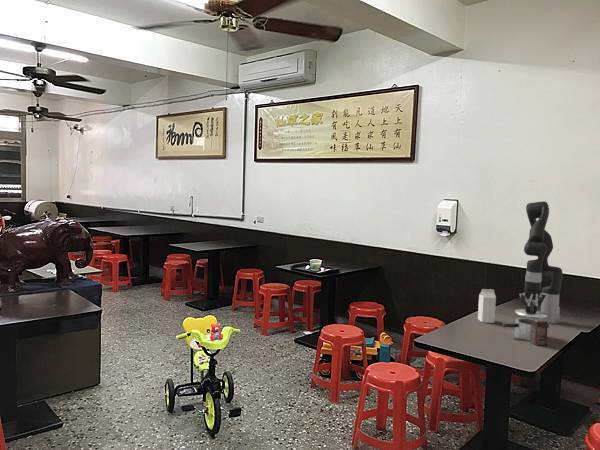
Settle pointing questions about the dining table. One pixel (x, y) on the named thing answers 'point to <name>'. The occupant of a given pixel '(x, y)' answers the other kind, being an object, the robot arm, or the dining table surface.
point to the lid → (531, 313)
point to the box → (539, 332)
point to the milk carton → (487, 306)
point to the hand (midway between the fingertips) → (530, 312)
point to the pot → (522, 328)
